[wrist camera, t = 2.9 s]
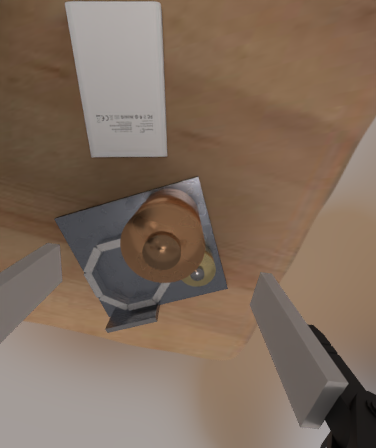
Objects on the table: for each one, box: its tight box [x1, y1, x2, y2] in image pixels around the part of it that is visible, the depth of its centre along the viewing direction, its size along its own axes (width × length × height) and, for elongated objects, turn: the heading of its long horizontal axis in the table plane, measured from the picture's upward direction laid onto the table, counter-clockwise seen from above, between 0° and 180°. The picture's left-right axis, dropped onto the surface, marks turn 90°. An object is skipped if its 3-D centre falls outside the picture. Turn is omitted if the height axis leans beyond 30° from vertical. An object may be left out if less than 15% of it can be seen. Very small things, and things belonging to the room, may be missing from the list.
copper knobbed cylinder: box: [120, 188, 205, 283], centre depth 19 cm, size 7×7×9 cm
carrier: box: [55, 176, 228, 333], centre depth 24 cm, size 18×16×4 cm
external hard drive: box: [65, 1, 167, 157], centre depth 19 cm, size 2×8×12 cm
